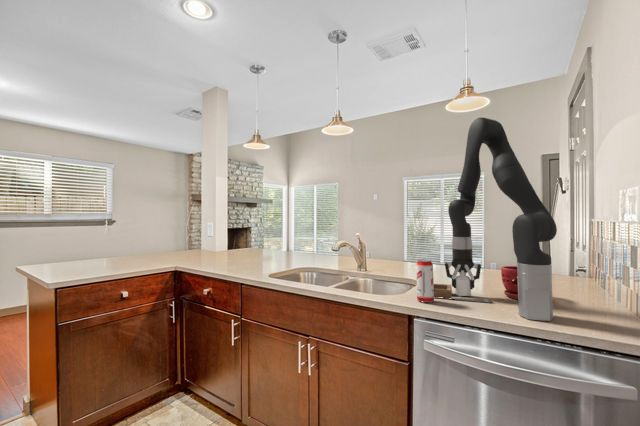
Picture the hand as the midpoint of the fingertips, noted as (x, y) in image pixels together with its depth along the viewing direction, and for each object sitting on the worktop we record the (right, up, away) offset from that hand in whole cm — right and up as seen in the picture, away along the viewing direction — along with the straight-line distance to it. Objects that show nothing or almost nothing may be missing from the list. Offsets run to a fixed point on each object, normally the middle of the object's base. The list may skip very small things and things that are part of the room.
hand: (463, 288), depth 129 cm
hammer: (-3, -3, -2) cm, 4 cm away
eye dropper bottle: (0, -3, 0) cm, 3 cm away
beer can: (-18, -4, -7) cm, 20 cm away
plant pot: (+21, -3, -4) cm, 22 cm away
